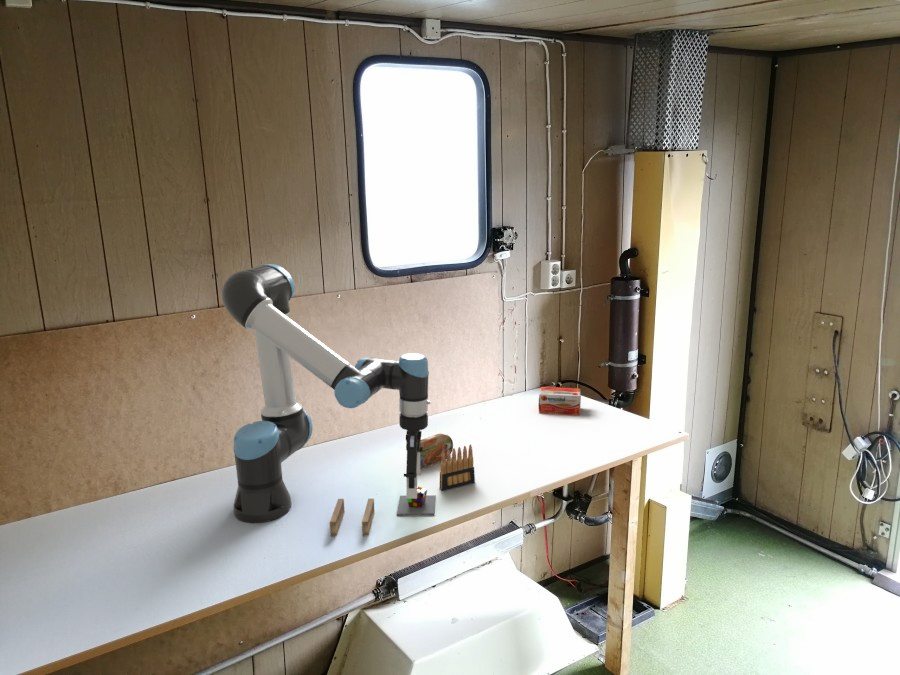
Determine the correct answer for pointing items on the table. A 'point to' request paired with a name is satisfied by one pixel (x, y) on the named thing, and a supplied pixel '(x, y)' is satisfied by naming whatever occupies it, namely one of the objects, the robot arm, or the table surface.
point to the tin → (434, 449)
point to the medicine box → (559, 401)
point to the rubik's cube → (418, 498)
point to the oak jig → (339, 514)
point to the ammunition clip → (456, 469)
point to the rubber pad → (416, 511)
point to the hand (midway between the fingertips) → (413, 485)
